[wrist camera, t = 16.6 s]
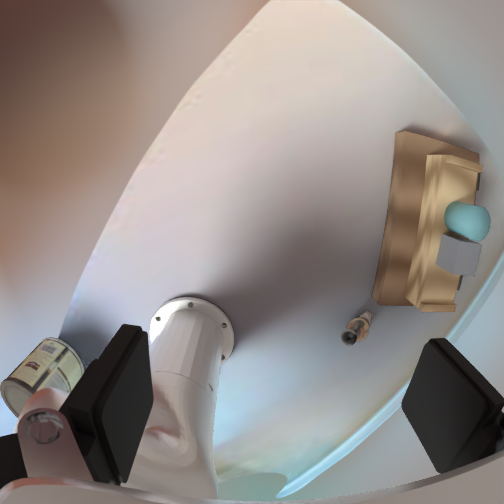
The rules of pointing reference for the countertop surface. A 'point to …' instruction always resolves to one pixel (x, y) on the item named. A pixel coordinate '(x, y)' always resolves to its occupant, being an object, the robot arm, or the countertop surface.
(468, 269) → the grey cube
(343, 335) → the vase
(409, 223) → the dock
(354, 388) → the countertop surface
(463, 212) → the teal cylinder
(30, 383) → the coffee can
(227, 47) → the countertop surface
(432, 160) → the light wood long block
